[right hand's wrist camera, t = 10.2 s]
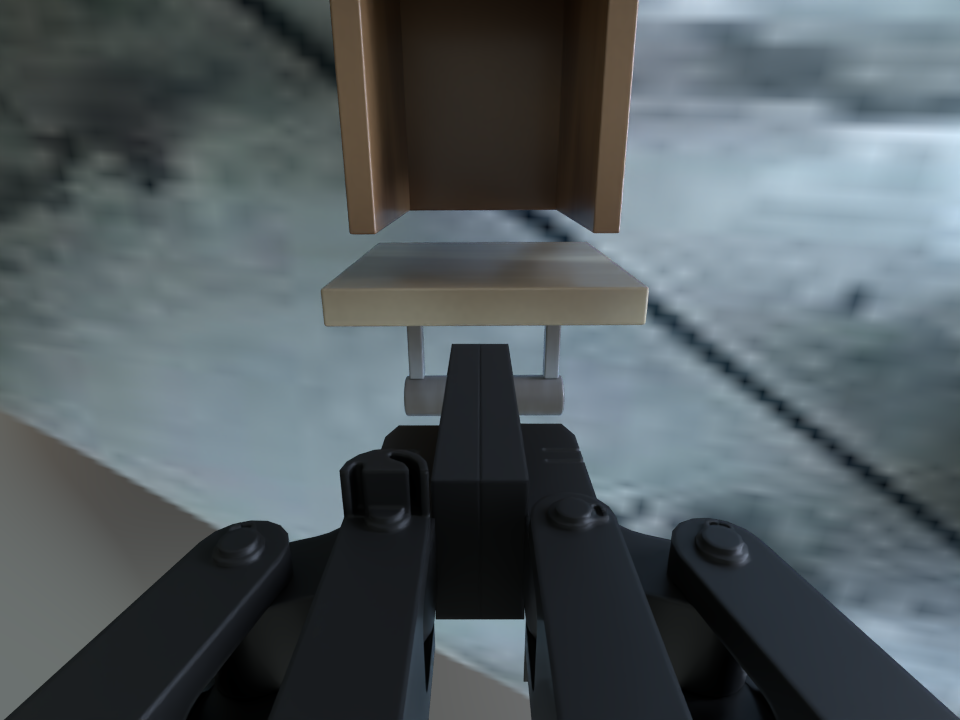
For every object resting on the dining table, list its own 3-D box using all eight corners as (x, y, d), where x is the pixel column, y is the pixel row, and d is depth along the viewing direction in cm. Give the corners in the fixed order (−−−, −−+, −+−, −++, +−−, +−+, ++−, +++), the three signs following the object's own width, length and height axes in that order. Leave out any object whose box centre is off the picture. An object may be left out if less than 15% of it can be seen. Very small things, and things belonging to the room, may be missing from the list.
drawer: (579, 373, 28) (630, 479, 18) (387, 374, 28) (340, 480, 18) (623, -320, 19) (762, -786, 10) (339, -318, 19) (202, -783, 10)
